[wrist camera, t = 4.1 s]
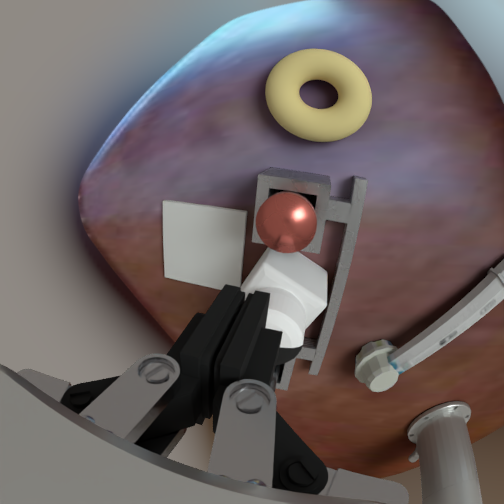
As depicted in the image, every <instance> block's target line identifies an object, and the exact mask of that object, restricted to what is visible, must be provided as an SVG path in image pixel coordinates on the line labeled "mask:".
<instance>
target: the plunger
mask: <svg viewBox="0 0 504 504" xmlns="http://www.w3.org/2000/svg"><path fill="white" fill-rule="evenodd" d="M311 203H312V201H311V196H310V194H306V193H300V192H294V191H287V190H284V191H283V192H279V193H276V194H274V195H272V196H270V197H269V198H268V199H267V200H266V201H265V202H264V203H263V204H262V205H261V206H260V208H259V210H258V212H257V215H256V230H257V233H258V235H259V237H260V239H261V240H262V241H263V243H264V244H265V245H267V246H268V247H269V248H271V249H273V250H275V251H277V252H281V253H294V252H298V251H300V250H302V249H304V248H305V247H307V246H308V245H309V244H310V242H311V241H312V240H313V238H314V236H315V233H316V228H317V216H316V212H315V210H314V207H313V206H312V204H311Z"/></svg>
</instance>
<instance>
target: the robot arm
mask: <svg viewBox="0 0 504 504" xmlns="http://www.w3.org/2000/svg"><path fill="white" fill-rule="evenodd" d="M269 301H270V293H267V292H262V291H257V290H255V292H254V294H252V293H249V294H248V296H247V298H246V300H245V292H242V291H241V288H240V287H237V286H232V285H228V284H225V286H224V287H223V289H222V290H221V292H220V293H219V295H218V296H217V298H216V299H215V301H214V302H213V304H212V305H211V307H210V308H209V310H208V311H207V313H206V314H202V313H196V314H195V316H194V317H193V318H192V320H191V321H190V323H189V324H188V325H187V327H186V328H185V330H184V331H183V332H182V334H181V335H180V337H179V338H178V339H177V341H176V342H175V344H174V345H173V346H172V348H171V349H170V351H169V352H168V353H167V355H164V354H149V355H146V356H144V357H142V358H140V359H139V360H138V361H136V362H135V363H134V364H133V365H132V366H131V367H130V368H129V369H128V370H126V372H124V373H123V374H122V375H121V376H116V377H112V378H107V379H102V380H97V381H91V382H86V383H80V384H77V385H73V386H71V384H70V382H67V381H64V380H60V379H57V378H54V377H51V376H49V375H45V374H43V373H40V372H37V371H34V370H32V369H24V370H21V371H19V372H18V373H16V372H14V371H13V370H11V369H9V368H8V367H6V366H3V365H1V364H0V504H408V502H409V494H408V492H407V490H406V488H405V487H404V486H402V485H401V484H399V483H396V482H393V481H388V480H384V479H379V478H375V477H370V476H366V475H362V474H358V473H354V472H351V471H347V470H343V469H340V468H339V469H338V470H334V469H330V468H327V467H326V466H325V465H324V463H323V462H322V461H321V460H320V459H319V458H318V457H317V456H316V455H315V454H314V452H313V451H312V450H311V449H310V448H309V447H308V446H307V445H306V444H305V443H304V442H303V441H302V439H301V438H300V437H299V436H298V435H297V434H296V433H295V432H294V431H293V429H292V428H291V427H290V426H289V425H288V424H287V423H286V422H285V420H284V419H283V418H282V417H281V416H280V415H279V413H278V412H277V411H276V395H275V393H274V391H273V390H272V388H270V385H271V381H272V377H273V374H274V370H275V366H276V362H277V358H278V353H279V349H280V344H281V339H282V334H283V331H278V330H273V329H268V328H265V327H266V321H267V314H268V307H269ZM212 414H213V432H214V433H215V438H214V443H213V447H212V452H211V457H210V462H209V466H208V471H207V472H205V471H202V470H199V469H196V468H193V467H190V466H187V465H184V464H182V463H179V462H176V461H173V460H171V459H168V458H167V457H168V455H169V454H170V453H171V451H172V450H173V449H174V447H175V446H176V445H177V444H178V442H179V441H180V440H181V438H182V437H183V435H184V434H185V432H186V430H187V428H188V427H191V426H194V425H195V423H197V424H200V425H202V424H203V421H204V419H205V418H208V419H210V418H211V416H212ZM470 416H471V410H470V407H469V405H468V404H467V403H465V402H461V401H453V402H447V403H443V404H441V405H438V406H435V407H433V408H431V409H429V410H427V411H425V412H424V413H422V414H421V415H419V416H418V417H417V418H416V419H415V420H414V421H413V422H412V423H411V424H410V426H409V428H408V438H409V440H410V441H411V442H413V443H416V448H415V451H414V452H413V453H412V454H411V455H410V456H409V461H410V462H415V461H416V460H417V459H418V458H419V462H420V472H421V483H422V484H421V485H422V504H482V499H481V492H480V487H479V481H478V475H477V469H476V464H475V459H474V455H473V450H472V446H471V442H470V438H469V434H468V430H467V426H466V423H467V422H468V420H469V418H470Z"/></svg>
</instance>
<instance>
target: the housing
mask: <svg viewBox="0 0 504 504" xmlns="http://www.w3.org/2000/svg"><path fill="white" fill-rule="evenodd" d="M367 183H368V180H367V179H366V178H363V177H358V176H353V182H352V188H351V194H350V199H345V198H339V197H334V196H330V190H331V181H330V176H326V175H320V174H314V173H308V172H301V171H294V170H288V169H280V168H273V167H270V168H269V169H267V170H265V171H263V172H262V173H260V174H258V183H257V193H256V204H255V214H254V224H253V235H252V242H255V243H261V244H264V243H263V241H262V240H261V239H260V237H259V235H258V233H257V230H256V215H257V212H258V210H259V208H260V206H261V205H262V204H263V203H264V202H265V201H266V200H267V199H268V198H269V197H270V196H272V195H274V194H276V193H278V189H280V190H287V191H294V192H300V193H306V194H312V195H317V197H316V203H315V212H316V216H317V228H316V233H315V236H314V238H313V240H312V241H311V242H310V244H309V245H308V246H307V247H305V248H304V249H302V250H301V251H306V252H312V253H318V254H319V253H320V248H321V243H322V237H323V232H324V226H325V221H326V220H331V221H336V222H342V223H345V226H344V231H343V236H342V241H341V246H340V250H339V255H338V259H337V264H336V268H335V272H334V277H333V281H332V285H331V289H330V293H329V297H328V301H327V306H326V309H325V313H324V316H323V320H322V324H321V327H320V331H319V334H318V338H317V339H312V338H306V337H304V340H303V346H302V349H301V351H300V352H299V354H298V355H297V356H296V357H295V358H294V359H292V360H291V361H289V362H286V363H284V364H281V367H280V372H279V376H278V380H277V384H276V388H277V389H283V390H287V389H288V385H289V381H290V378H291V374H292V370H293V367H294V363H295V359H296V358H299V359H305V360H311V361H310V366H309V374H312V375H318V372H319V369H320V366H321V363H322V360H323V358H324V355H325V351H326V348H327V345H328V342H329V339H330V336H331V333H332V329H333V326H334V323H335V320H336V316H337V313H338V309H339V306H340V302H341V299H342V295H343V291H344V288H345V284H346V280H347V276H348V272H349V268H350V264H351V260H352V256H353V252H354V247H355V243H356V239H357V234H358V229H359V225H360V220H361V215H362V210H363V205H364V199H365V194H366V189H367Z"/></svg>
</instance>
